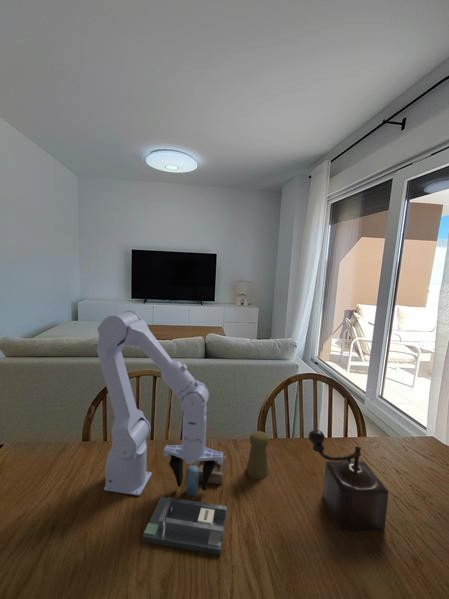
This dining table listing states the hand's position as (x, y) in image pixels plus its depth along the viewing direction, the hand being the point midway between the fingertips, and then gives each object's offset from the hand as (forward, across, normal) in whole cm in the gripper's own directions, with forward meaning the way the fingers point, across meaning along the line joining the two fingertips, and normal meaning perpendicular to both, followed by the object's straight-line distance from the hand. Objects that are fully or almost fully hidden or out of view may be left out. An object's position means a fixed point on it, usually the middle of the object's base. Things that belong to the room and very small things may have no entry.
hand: (192, 485), depth 73 cm
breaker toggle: (0, +5, -10) cm, 11 cm away
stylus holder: (+2, +3, +8) cm, 9 cm away
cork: (+2, +16, +11) cm, 19 cm away
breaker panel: (+2, +2, -10) cm, 10 cm away
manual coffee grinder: (+2, +36, +1) cm, 36 cm away
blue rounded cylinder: (+2, 0, 0) cm, 2 cm away
